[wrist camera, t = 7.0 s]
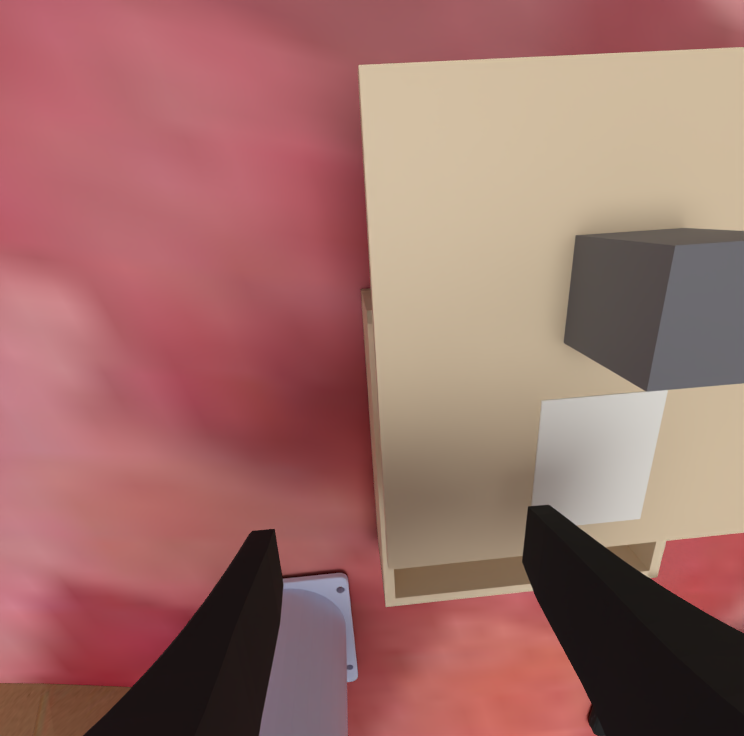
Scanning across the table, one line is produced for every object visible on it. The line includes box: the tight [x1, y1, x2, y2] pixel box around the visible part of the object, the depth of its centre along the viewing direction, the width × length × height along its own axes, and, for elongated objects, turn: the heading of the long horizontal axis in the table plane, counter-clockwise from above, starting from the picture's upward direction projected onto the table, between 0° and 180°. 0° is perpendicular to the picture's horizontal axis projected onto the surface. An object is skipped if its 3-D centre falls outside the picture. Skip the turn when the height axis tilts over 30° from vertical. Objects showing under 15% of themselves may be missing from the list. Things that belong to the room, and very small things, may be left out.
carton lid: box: [358, 47, 744, 570], centre depth 11 cm, size 15×14×4 cm
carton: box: [361, 288, 666, 607], centre depth 20 cm, size 15×14×4 cm
